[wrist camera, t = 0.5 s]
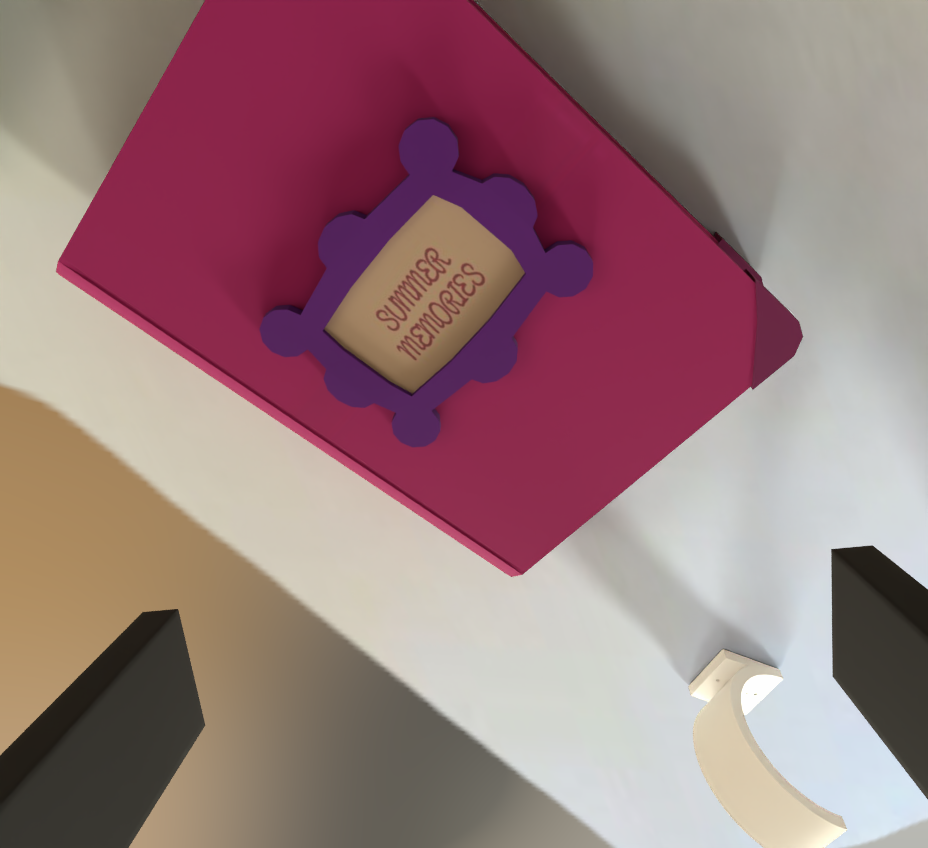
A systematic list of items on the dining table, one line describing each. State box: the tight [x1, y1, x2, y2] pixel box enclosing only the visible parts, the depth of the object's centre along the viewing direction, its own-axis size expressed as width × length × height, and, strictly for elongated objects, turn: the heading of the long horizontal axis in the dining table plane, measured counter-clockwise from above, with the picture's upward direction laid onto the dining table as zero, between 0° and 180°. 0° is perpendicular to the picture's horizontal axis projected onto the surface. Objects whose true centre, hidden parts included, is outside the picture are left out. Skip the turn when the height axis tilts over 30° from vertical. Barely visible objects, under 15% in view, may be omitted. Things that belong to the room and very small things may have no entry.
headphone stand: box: [688, 649, 847, 848], centre depth 49 cm, size 5×6×12 cm
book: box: [56, 0, 803, 577], centre depth 35 cm, size 21×28×8 cm
